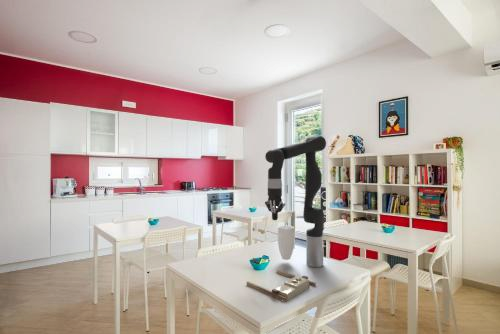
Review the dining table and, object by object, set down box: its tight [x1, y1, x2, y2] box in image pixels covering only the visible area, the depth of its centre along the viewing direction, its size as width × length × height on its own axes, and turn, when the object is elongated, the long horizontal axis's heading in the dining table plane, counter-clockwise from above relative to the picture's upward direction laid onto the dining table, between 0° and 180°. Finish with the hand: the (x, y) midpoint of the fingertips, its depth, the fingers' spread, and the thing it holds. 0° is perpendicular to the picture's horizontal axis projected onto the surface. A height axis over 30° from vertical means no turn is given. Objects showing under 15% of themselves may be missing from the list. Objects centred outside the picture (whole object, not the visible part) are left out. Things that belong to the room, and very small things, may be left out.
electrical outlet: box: [274, 275, 310, 301], centre depth 129 cm, size 7×4×18 cm
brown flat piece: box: [246, 269, 317, 302], centre depth 135 cm, size 24×24×3 cm
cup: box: [277, 224, 296, 261], centre depth 166 cm, size 10×10×22 cm
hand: (274, 219), depth 149 cm, fingers closed
